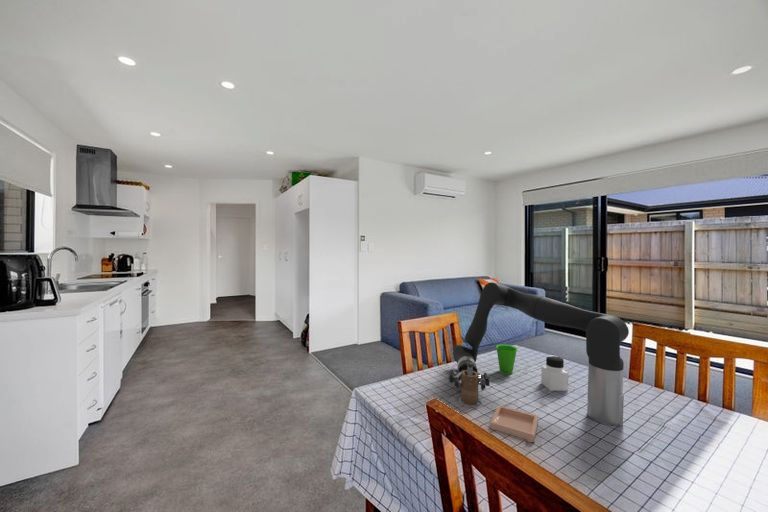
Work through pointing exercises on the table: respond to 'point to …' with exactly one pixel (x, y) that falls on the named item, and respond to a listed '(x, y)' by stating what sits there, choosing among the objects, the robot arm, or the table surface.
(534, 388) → the table surface
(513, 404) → the table surface
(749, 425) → the table surface
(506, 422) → the tray
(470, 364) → the paper towel holder
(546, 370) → the medicine bottle
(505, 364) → the cup
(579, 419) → the table surface
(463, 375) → the octagonal pencil holder
